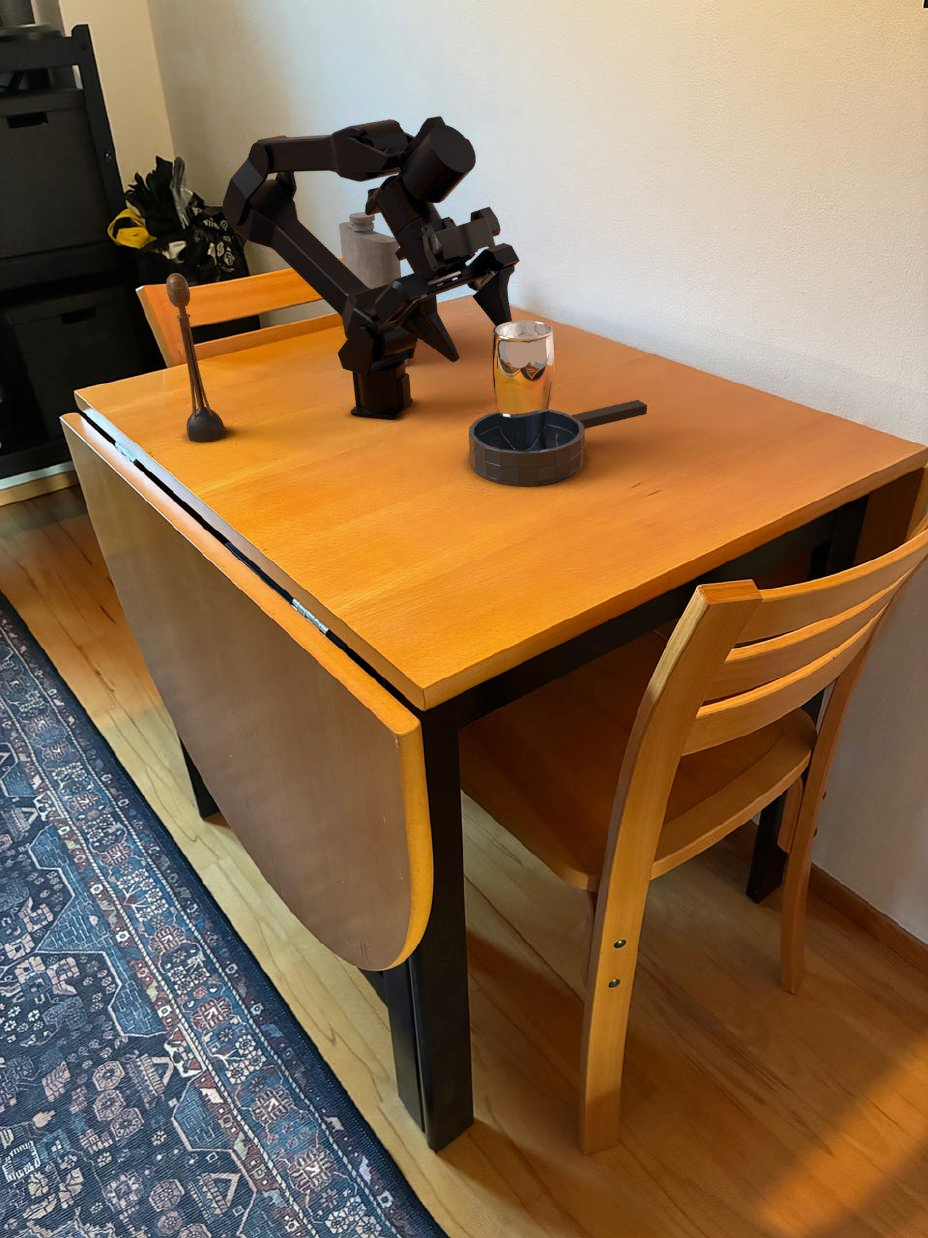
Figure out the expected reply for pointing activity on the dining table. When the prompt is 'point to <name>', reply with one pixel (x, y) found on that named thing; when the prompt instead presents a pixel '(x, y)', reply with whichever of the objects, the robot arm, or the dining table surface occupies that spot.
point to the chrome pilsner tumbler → (523, 382)
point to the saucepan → (527, 452)
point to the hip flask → (369, 252)
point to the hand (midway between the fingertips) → (484, 348)
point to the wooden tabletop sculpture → (193, 369)
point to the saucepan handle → (611, 413)
